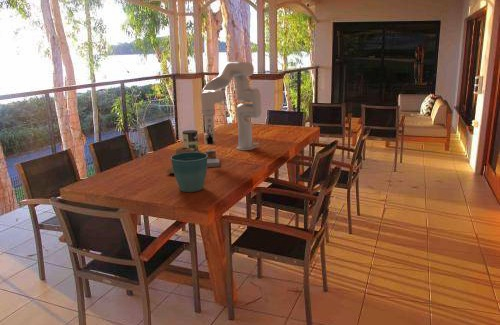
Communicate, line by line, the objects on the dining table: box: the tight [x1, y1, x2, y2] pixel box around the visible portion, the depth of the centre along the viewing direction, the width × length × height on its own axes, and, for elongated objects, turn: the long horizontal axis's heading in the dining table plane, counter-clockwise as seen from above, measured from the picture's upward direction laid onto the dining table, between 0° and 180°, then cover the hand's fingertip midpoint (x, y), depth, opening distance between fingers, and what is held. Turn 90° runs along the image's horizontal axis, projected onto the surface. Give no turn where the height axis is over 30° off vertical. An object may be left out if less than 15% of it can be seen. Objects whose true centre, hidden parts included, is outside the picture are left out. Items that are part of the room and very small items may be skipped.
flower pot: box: [170, 151, 208, 193], centre depth 219 cm, size 18×18×17 cm
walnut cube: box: [205, 148, 217, 159], centre depth 279 cm, size 6×6×6 cm
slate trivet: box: [207, 157, 221, 168], centre depth 266 cm, size 10×10×2 cm
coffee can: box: [182, 129, 199, 152], centre depth 302 cm, size 10×10×14 cm
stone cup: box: [166, 146, 194, 175], centre depth 248 cm, size 15×12×15 cm
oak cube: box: [203, 132, 216, 146], centre depth 263 cm, size 6×6×6 cm
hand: (209, 142), depth 263 cm, fingers closed on oak cube, 6 cm apart
